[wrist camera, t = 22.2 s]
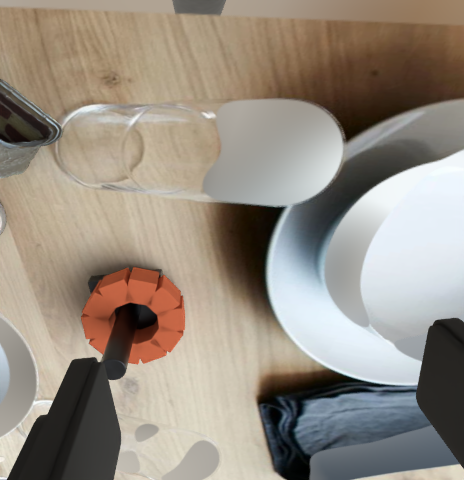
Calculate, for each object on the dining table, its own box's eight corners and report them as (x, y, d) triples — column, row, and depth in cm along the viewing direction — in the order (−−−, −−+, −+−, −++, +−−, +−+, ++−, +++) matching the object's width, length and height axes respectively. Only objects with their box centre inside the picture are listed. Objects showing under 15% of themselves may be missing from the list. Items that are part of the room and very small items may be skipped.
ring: (80, 270, 39) (72, 283, 37) (179, 263, 40) (178, 274, 37) (98, 352, 43) (92, 369, 41) (187, 344, 44) (187, 359, 42)
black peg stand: (91, 275, 41) (56, 338, 31) (161, 269, 42) (150, 328, 31) (104, 333, 44) (76, 408, 34) (169, 326, 45) (162, 398, 34)
